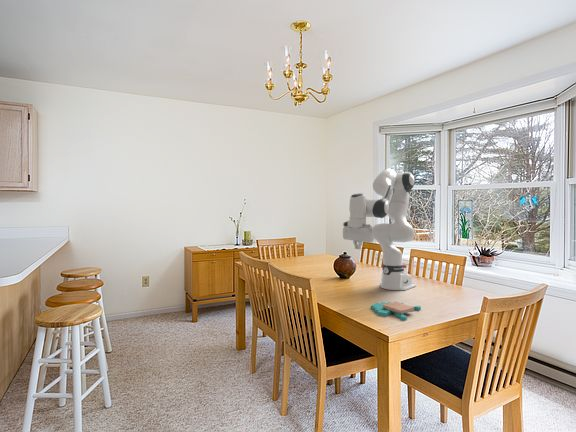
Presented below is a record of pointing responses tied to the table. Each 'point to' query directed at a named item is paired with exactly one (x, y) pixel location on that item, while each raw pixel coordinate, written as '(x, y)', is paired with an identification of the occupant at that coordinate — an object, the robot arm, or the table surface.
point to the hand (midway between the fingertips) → (357, 249)
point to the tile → (398, 307)
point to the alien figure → (384, 312)
